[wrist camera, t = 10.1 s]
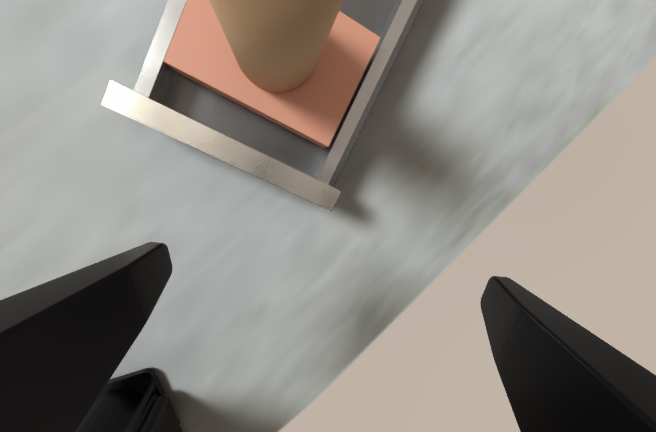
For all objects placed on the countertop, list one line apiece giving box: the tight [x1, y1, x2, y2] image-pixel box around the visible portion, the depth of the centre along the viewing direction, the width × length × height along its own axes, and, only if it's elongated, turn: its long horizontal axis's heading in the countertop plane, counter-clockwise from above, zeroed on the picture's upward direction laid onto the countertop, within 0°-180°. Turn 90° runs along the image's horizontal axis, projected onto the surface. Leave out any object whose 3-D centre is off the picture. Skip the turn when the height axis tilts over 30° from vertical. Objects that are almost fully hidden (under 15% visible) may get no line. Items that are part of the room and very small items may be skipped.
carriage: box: [164, 0, 380, 147], centre depth 11 cm, size 6×9×12 cm
